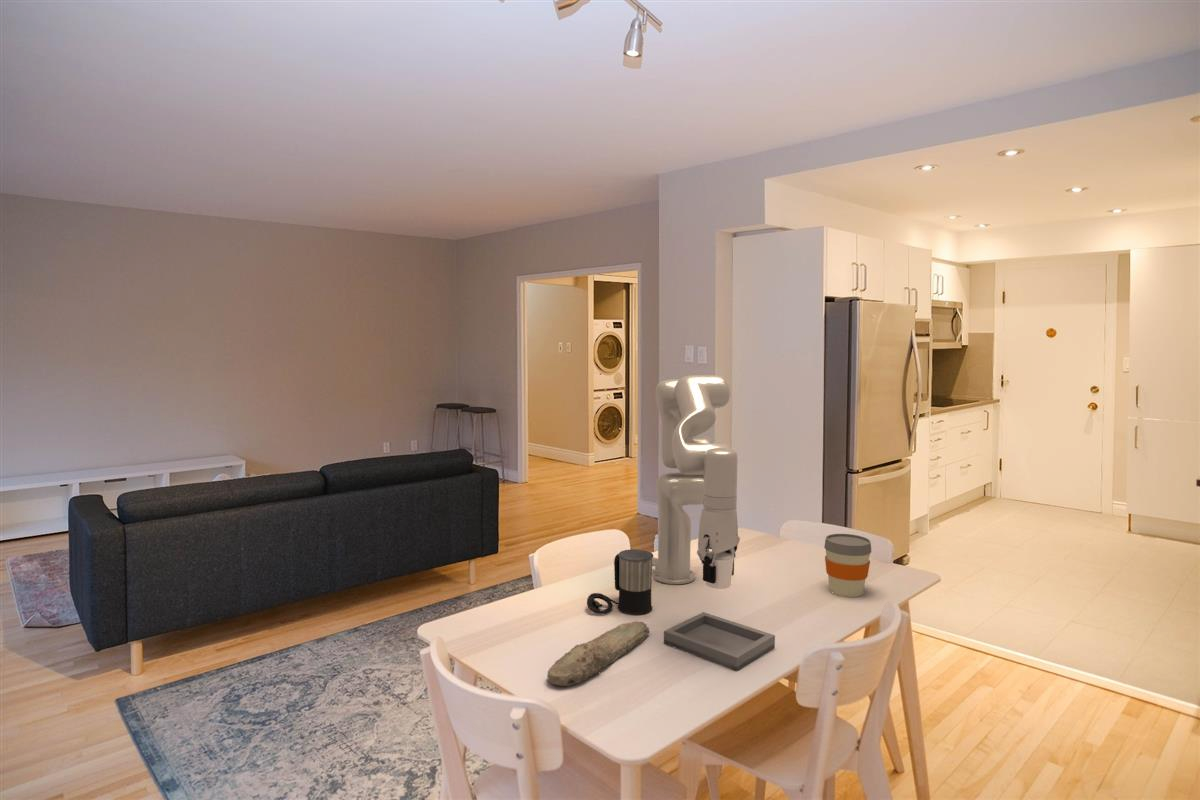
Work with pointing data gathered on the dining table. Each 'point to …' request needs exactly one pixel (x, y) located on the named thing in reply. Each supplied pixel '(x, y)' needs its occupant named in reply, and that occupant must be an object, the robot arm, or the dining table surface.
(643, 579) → the milk frother
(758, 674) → the dining table surface
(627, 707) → the dining table surface
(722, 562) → the white cup
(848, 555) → the reusable coffee cup
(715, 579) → the robot arm
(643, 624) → the elongated rock
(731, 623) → the serving tray
